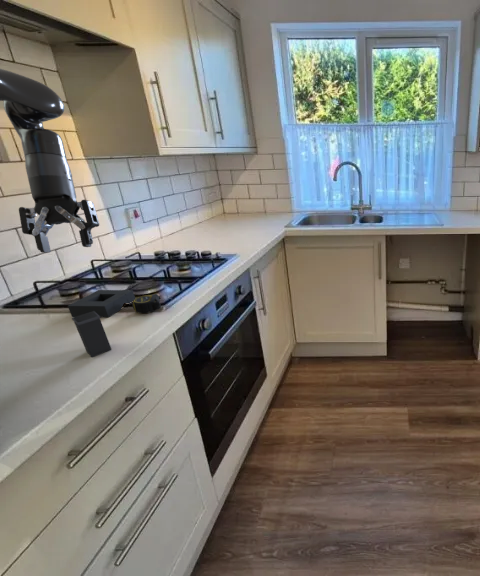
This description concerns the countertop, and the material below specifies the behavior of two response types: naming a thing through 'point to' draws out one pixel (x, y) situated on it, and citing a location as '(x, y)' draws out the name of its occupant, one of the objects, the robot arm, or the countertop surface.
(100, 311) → the base pad
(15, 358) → the countertop surface
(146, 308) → the tape measure
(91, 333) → the pad post
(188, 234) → the countertop surface
